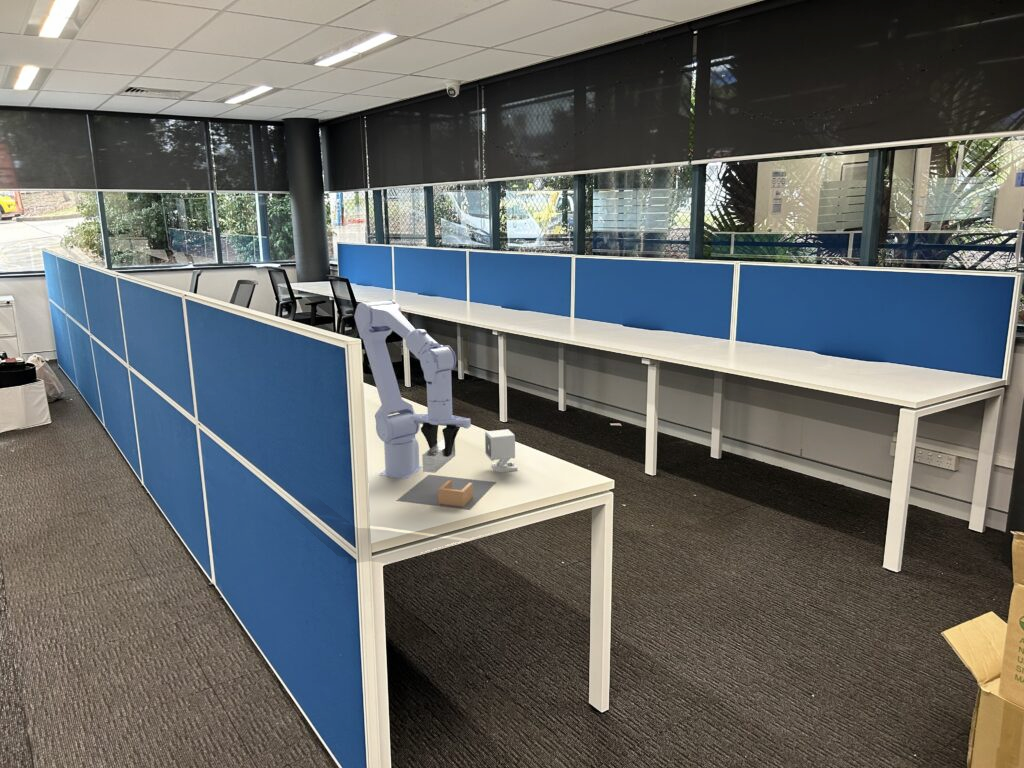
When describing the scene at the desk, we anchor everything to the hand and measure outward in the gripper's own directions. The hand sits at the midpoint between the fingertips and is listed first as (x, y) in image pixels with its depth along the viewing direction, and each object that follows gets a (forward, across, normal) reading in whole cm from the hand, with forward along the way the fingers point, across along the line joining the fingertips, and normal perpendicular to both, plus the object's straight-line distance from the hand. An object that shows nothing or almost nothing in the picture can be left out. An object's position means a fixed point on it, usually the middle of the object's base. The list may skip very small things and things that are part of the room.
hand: (441, 454), depth 174 cm
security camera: (+9, +9, +18) cm, 22 cm away
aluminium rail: (+2, 0, -1) cm, 2 cm away
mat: (+9, +2, -1) cm, 9 cm away
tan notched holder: (+9, +6, -6) cm, 12 cm away
